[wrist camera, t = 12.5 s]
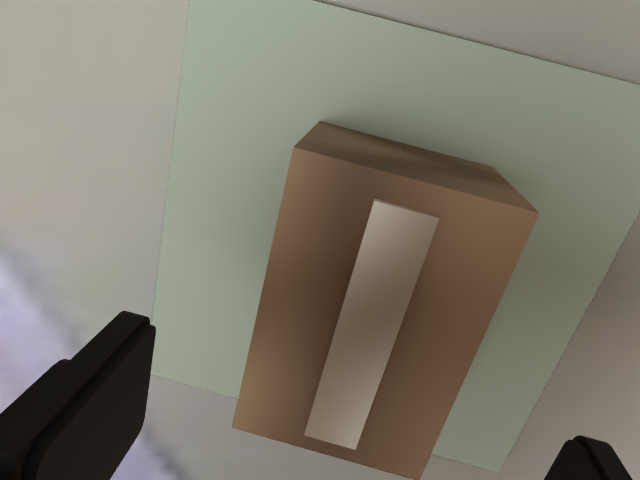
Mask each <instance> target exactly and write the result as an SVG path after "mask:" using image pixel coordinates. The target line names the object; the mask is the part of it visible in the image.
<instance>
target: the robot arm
mask: <svg viewBox="0 0 640 480" xmlns="http://www.w3.org/2000/svg"><path fill="white" fill-rule="evenodd" d="M155 336H156V327H155V326H153V325H150V319H149V318H148V317H146V316H142V315H138V314H135V313H131V312H127V311H122V312H120V313H119V314H118V315H117V316H116V317H115V318H114V319H113V320H112V321H111V322H110V323H109V324H108V325H107V326H106V327H104V328H103V329H102V330H101V331H100V332H99V333H98V334H97V335H96V336H95V337H94V338H93V339H92V340H91V341H90V342H89V343H88V344H87V345H86V346H85V347H84V348H82V349H81V350H80V351H79V352H78V353H77V354H76V355H75V356H74V357H73V358H72V359H71V360H67V359H63V360H60V361H58V362H57V363H56V364H54V365H53V366H52V367H51V368H50V369H49V370H48V371H47V372H45V373H44V374H43V375H42V376H41V377H40V378H39V379H38V380H37V381H36V382H35V383H34V384H32V385H31V386H30V387H29V388H28V389H27V390H26V391H25V392H24V393H23V394H22V395H20V396H19V397H18V398H17V399H16V400H15V401H14V402H13V403H12V404H11V405H10V406H9V407H7V408H6V409H5V410H4V411H3V412H2V413H1V414H0V480H110V478H111V477H112V475H113V474H114V472H115V471H116V469H117V467H118V466H119V464H120V463H121V461H122V460H123V458H124V457H125V455H126V453H127V452H128V450H129V449H130V447H131V446H132V444H133V443H134V441H135V440H136V438H137V436H138V435H139V433H140V431H141V428H142V426H143V422H144V418H145V411H146V404H147V396H148V389H149V381H150V374H151V366H152V359H153V351H154V344H155ZM544 480H632V478H631V477H630V475H629V474H628V472H627V470H626V469H625V467H624V466H623V464H622V463H621V461H620V459H619V458H618V456H617V455H616V453H615V452H614V450H613V448H612V447H611V446H610V445H609V444H608V443H606V442H603V441H599V440H595V439H592V438H588V437H584V436H577V437H575V438H574V439H573V440H568V441H566V442H565V444H564V445H563V447H562V449H561V450H560V452H559V454H558V456H557V458H556V459H555V461H554V463H553V465H552V466H551V468H550V470H549V472H548V473H547V475H546V477H545V479H544Z"/></svg>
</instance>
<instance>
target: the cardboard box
mask: <svg viewBox="0 0 640 480" xmlns="http://www.w3.org/2000/svg"><path fill="white" fill-rule="evenodd" d="M539 214H540V213H539V212H538V211H537V210H536V209H535V208H534V207H533V206H532V205H531V204H530V203H529V202H528V201H527V200H526V199H525V198H524V197H523V196H522V195H521V194H520V193H519V192H518V191H517V190H516V189H515V188H514V187H513V186H512V185H511V184H510V183H509V182H508V181H507V180H506V179H505V178H504V177H503V176H502V175H501V174H499V173H498V172H497V171H496V170H495V169H494V168H493V167H491V166H487V165H483V164H480V163H476V162H472V161H468V160H465V159H461V158H457V157H453V156H450V155H446V154H442V153H438V152H435V151H431V150H427V149H423V148H420V147H416V146H412V145H408V144H404V143H401V142H397V141H393V140H389V139H386V138H382V137H378V136H374V135H371V134H367V133H363V132H359V131H356V130H352V129H348V128H344V127H341V126H337V125H333V124H329V123H326V122H322V121H319V122H318V123H317V124H316V125H315V126H314V127H313V128H312V129H311V130H310V131H309V132H308V133H307V134H306V135H305V136H304V137H303V138H302V139H301V140H300V141H299V142H298V143H297V144H296V145H295V146H294V147H293V150H292V155H291V159H290V164H289V169H288V173H287V178H286V182H285V187H284V191H283V196H282V201H281V205H280V210H279V214H278V219H277V224H276V228H275V233H274V237H273V242H272V246H271V251H270V256H269V260H268V265H267V269H266V274H265V279H264V283H263V288H262V292H261V297H260V301H259V306H258V311H257V315H256V320H255V324H254V329H253V334H252V338H251V343H250V347H249V352H248V356H247V361H246V366H245V370H244V375H243V379H242V384H241V389H240V393H239V398H238V402H237V407H236V411H235V416H234V421H233V425H232V428H235V429H239V430H242V431H246V432H249V433H253V434H256V435H260V436H263V437H267V438H270V439H274V440H277V441H281V442H284V443H288V444H291V445H295V446H298V447H302V448H305V449H309V450H312V451H316V452H319V453H323V454H326V455H330V456H333V457H337V458H340V459H344V460H347V461H351V462H354V463H358V464H361V465H365V466H368V467H372V468H375V469H379V470H382V471H386V472H389V473H393V474H396V475H400V476H403V477H407V478H410V479H414V480H420V477H421V475H422V473H423V471H424V469H425V466H426V464H427V462H428V460H429V457H430V455H431V453H432V451H433V449H434V446H435V444H436V442H437V440H438V437H439V435H440V433H441V431H442V429H443V426H444V424H445V422H446V420H447V418H448V415H449V413H450V411H451V409H452V406H453V404H454V402H455V400H456V398H457V395H458V393H459V391H460V389H461V386H462V384H463V382H464V380H465V378H466V375H467V373H468V371H469V369H470V367H471V364H472V362H473V360H474V358H475V355H476V353H477V351H478V349H479V347H480V344H481V342H482V340H483V338H484V335H485V333H486V331H487V329H488V327H489V324H490V322H491V320H492V318H493V316H494V313H495V311H496V309H497V307H498V304H499V302H500V300H501V298H502V296H503V293H504V291H505V289H506V287H507V285H508V282H509V280H510V278H511V276H512V273H513V271H514V269H515V267H516V265H517V262H518V260H519V258H520V256H521V253H522V251H523V249H524V247H525V245H526V242H527V240H528V238H529V236H530V234H531V231H532V229H533V227H534V225H535V222H536V220H537V218H538V216H539Z"/></svg>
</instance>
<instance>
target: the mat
mask: <svg viewBox="0 0 640 480" xmlns="http://www.w3.org/2000/svg"><path fill="white" fill-rule="evenodd" d="M319 121H322V122H326V123H329V124H333V125H337V126H341V127H344V128H348V129H352V130H356V131H359V132H363V133H367V134H371V135H374V136H378V137H382V138H386V139H389V140H393V141H397V142H401V143H404V144H408V145H412V146H416V147H420V148H423V149H427V150H431V151H435V152H438V153H442V154H446V155H450V156H453V157H457V158H461V159H465V160H468V161H472V162H476V163H480V164H483V165H487V166H491V167H493V168H494V169H495V170H496V171H497V172H498V173H499V174H501V175H502V176H503V177H504V178H505V179H506V180H507V181H508V182H509V183H510V184H511V185H512V186H513V187H514V188H515V189H516V190H517V191H518V192H519V193H520V194H521V195H522V196H523V197H524V198H525V199H526V200H527V201H528V202H529V203H530V204H531V205H532V206H533V207H534V208H535V209H536V210H537V211H538V212H539V213H540V214H539V216H538V218H537V220H536V222H535V225H534V227H533V229H532V231H531V234H530V236H529V238H528V240H527V242H526V245H525V247H524V249H523V251H522V253H521V256H520V258H519V260H518V262H517V265H516V267H515V269H514V271H513V273H512V276H511V278H510V280H509V282H508V285H507V287H506V289H505V291H504V293H503V296H502V298H501V300H500V302H499V304H498V307H497V309H496V311H495V313H494V316H493V318H492V320H491V322H490V324H489V327H488V329H487V331H486V333H485V335H484V338H483V340H482V342H481V344H480V347H479V349H478V351H477V353H476V355H475V358H474V360H473V362H472V364H471V367H470V369H469V371H468V373H467V375H466V378H465V380H464V382H463V384H462V386H461V389H460V391H459V393H458V395H457V398H456V400H455V402H454V404H453V406H452V409H451V411H450V413H449V415H448V418H447V420H446V422H445V424H444V426H443V429H442V431H441V433H440V435H439V437H438V440H437V442H436V444H435V446H434V449H433V451H432V453H431V454H433V455H437V456H440V457H444V458H447V459H451V460H454V461H458V462H461V463H465V464H468V465H472V466H475V467H479V468H482V469H486V470H489V471H493V472H496V473H499V471H500V469H501V468H502V466H503V464H504V462H505V460H506V458H507V457H508V455H509V453H510V451H511V449H512V447H513V445H514V444H515V442H516V440H517V438H518V436H519V434H520V432H521V431H522V429H523V427H524V425H525V423H526V421H527V419H528V418H529V416H530V414H531V412H532V410H533V408H534V406H535V405H536V403H537V401H538V399H539V397H540V395H541V394H542V392H543V390H544V388H545V386H546V384H547V382H548V381H549V379H550V377H551V375H552V373H553V371H554V369H555V368H556V366H557V364H558V362H559V360H560V358H561V356H562V355H563V353H564V351H565V349H566V347H567V345H568V343H569V342H570V340H571V338H572V336H573V334H574V332H575V331H576V329H577V327H578V325H579V323H580V321H581V319H582V318H583V316H584V314H585V312H586V310H587V308H588V306H589V305H590V303H591V301H592V299H593V297H594V295H595V293H596V292H597V290H598V288H599V286H600V284H601V282H602V280H603V279H604V277H605V275H606V273H607V271H608V269H609V268H610V266H611V264H612V262H613V260H614V258H615V256H616V255H617V253H618V251H619V249H620V247H621V245H622V243H623V242H624V240H625V238H626V236H627V234H628V232H629V230H630V229H631V227H632V225H633V223H634V221H635V219H636V217H637V216H638V214H639V212H640V85H638V84H634V83H630V82H626V81H623V80H619V79H615V78H611V77H607V76H603V75H599V74H596V73H592V72H588V71H584V70H580V69H576V68H572V67H569V66H565V65H561V64H557V63H553V62H549V61H545V60H542V59H538V58H534V57H530V56H526V55H522V54H518V53H514V52H511V51H507V50H503V49H499V48H495V47H491V46H487V45H484V44H480V43H476V42H472V41H468V40H464V39H460V38H457V37H453V36H449V35H445V34H441V33H437V32H433V31H430V30H426V29H422V28H418V27H414V26H410V25H406V24H403V23H399V22H395V21H391V20H387V19H383V18H379V17H376V16H372V15H368V14H364V13H360V12H356V11H352V10H349V9H345V8H341V7H337V6H333V5H329V4H325V3H321V2H318V1H314V0H189V9H188V17H187V26H186V34H185V43H184V51H183V60H182V69H181V77H180V86H179V94H178V103H177V111H176V120H175V129H174V137H173V146H172V154H171V163H170V172H169V180H168V189H167V197H166V206H165V214H164V223H163V232H162V240H161V249H160V257H159V266H158V274H157V283H156V292H155V300H154V309H153V317H152V325H153V326H155V327H156V336H155V344H154V351H153V359H152V366H151V375H155V376H158V377H162V378H165V379H169V380H172V381H176V382H179V383H183V384H186V385H190V386H193V387H197V388H200V389H204V390H207V391H211V392H215V393H218V394H222V395H225V396H229V397H232V398H236V399H238V398H239V393H240V389H241V384H242V379H243V375H244V370H245V366H246V361H247V356H248V352H249V347H250V343H251V338H252V334H253V329H254V324H255V320H256V315H257V311H258V306H259V301H260V297H261V292H262V288H263V283H264V279H265V274H266V269H267V265H268V260H269V256H270V251H271V246H272V242H273V237H274V233H275V228H276V224H277V219H278V214H279V210H280V205H281V201H282V196H283V191H284V187H285V182H286V178H287V173H288V169H289V164H290V159H291V155H292V150H293V147H294V146H295V145H296V144H297V143H298V142H299V141H300V140H301V139H302V138H303V137H304V136H305V135H306V134H307V133H308V132H309V131H310V130H311V129H312V128H313V127H314V126H315V125H316V124H317V123H318V122H319Z"/></svg>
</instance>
